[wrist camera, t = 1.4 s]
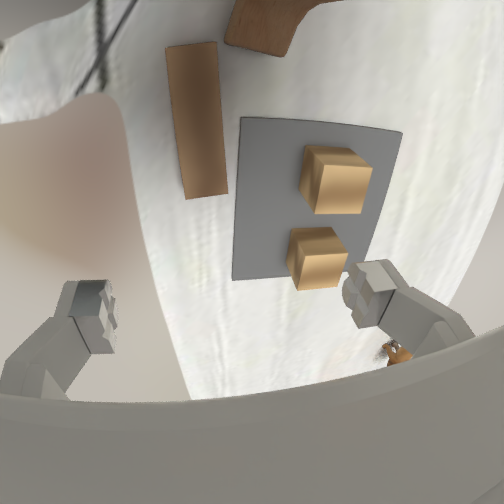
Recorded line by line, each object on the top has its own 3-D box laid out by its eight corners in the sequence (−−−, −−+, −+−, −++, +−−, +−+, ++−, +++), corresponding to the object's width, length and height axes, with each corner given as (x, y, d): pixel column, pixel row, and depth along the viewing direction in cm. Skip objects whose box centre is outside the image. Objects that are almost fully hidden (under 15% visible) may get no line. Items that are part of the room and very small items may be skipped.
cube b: (291, 228, 36) (305, 256, 32) (331, 226, 37) (348, 253, 33) (285, 262, 39) (297, 290, 35) (322, 259, 40) (337, 286, 36)
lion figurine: (389, 354, 64) (405, 386, 57) (372, 356, 62) (388, 390, 55) (426, 309, 55) (448, 344, 48) (409, 310, 54) (431, 347, 47)
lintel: (185, 185, 31) (185, 199, 29) (167, 47, 22) (165, 48, 20) (224, 179, 32) (228, 193, 29) (213, 41, 23) (216, 41, 20)
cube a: (305, 145, 30) (324, 164, 26) (349, 148, 31) (372, 167, 27) (298, 189, 33) (314, 214, 29) (340, 189, 34) (360, 213, 30)
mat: (241, 117, 27) (241, 118, 27) (400, 132, 31) (402, 133, 31) (231, 278, 40) (232, 280, 39) (359, 268, 43) (360, 270, 43)
